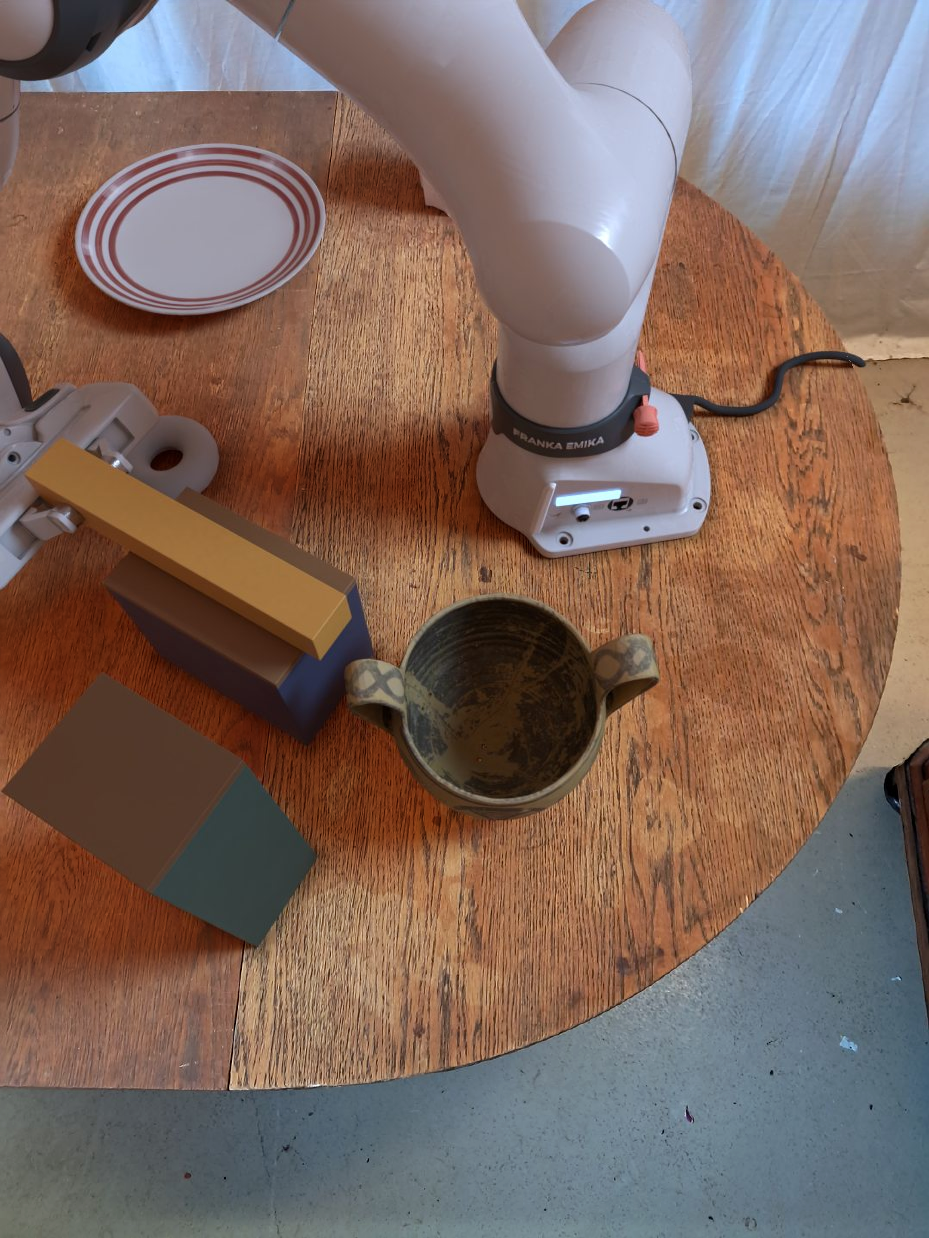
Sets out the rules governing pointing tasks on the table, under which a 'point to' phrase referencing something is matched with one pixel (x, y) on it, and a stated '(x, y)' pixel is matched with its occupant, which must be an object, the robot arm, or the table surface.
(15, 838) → the table surface
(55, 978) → the table surface
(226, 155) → the dinner plate
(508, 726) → the ceramic bowl
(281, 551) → the brown-topped navy block
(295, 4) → the robot arm
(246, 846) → the brown-topped teal block
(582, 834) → the table surface
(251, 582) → the yellow ochre bar
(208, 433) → the donut
